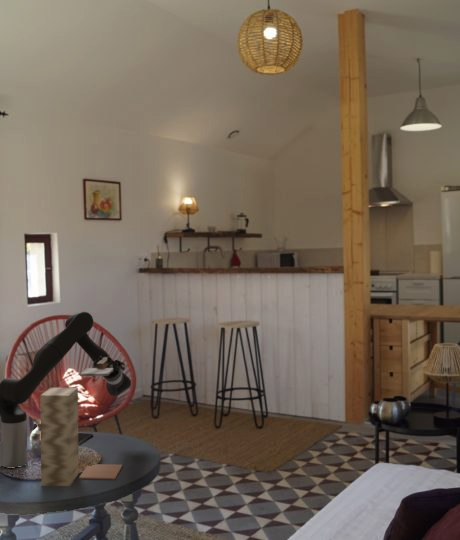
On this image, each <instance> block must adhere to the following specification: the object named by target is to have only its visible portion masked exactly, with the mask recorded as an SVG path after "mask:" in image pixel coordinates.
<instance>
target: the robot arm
mask: <svg viewBox="0 0 460 540" xmlns="http://www.w3.org/2000/svg"><path fill="white" fill-rule="evenodd" d="M64 326H65V328H64V329H63V330H61V331H60V332H58V333H57V334H56V335H54V336H53V337H52V338H51V339H49V340H48V341H46V342H45V343H44V344H43V346H42V347H40V348H39V349H38V351H37V352H35V355H34V358H33V360H32V366H31V368H30V370H29V371H28V372H27V373H26V374H25V375H24V376H23V377H21V378H15V377H6V378H3V379H2V380H1V382H0V421H1V422H0V426H1V428H0V430H1V435H0V436H1V437H0V438H1V441H0V468H4V467H18V466H23V465H25V464H26V463H27V464H28V435H27V434H28V428H27V427H28V426H27V424H28V423H27V422H28V421H27V420H28V419H27V418H28V417H27V415H28V414H27V412H26V411H25V410H24V409H23V408H22V406H20V404H24V403H26V401H28V400H29V398H30V397H31V396H32V394H34V392H35V391H36V389H37V388H38V387H39V385H40V384H41V383H42V381H43V380H44V379H45V378H47V376H48V375H49V373H50V372H51V371H52V370H54V368H56V366H57V365H58V364H60V362H61V361H62V360H63V358H64V357H65V356H66V355H67V354H68V353H69V351H70V350H71V349H72V348H73V347H74V345H75V344H76V343H77V345H79V347H80V348H81V349H82V350H83V351H84V352H85V353H86V354H87V356H88V357H89V358H90V359H91V361H92V367H91V368H97V363H98V362H99V361H100V360H101V359H103V357H107V362H108V364H109V365H108V366H107V367H106V368H113V371H112V372H111V373H110V374H109V375H108V376H102V377H103V378H104V380H105V384H106V385H105V387H106V391H107V392H108V394H109V395H110V396H111V397H118V396H119V395H120V394H122V393H123V392H125V391H126V390H127V389H129V388H131V386H132V380H131V379H130V377H129V376H127V374H126V373H124V372H123V371H125V370H126V363H125V362H123V361H120V360H118V359H115V360H114V359H113V358H112V357H111V356H110V355H109V353H108V352H107V351H106V350H105V349H103V348H102V347H101V346H100V345H98V343H96V342H94V340H92V338H91V337H90V336H89V334H88V332H90V331H91V330H92V328H93V327H94V318H93V315H92V314H91V313H89V312H87V311H79V312H76V313H75V314H73V315H70V316H69V317H68V318H66V320H65V322H64ZM27 464H26V465H27ZM26 465H25V466H26ZM1 466H3V467H1ZM23 467H24V466H23Z"/></svg>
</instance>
